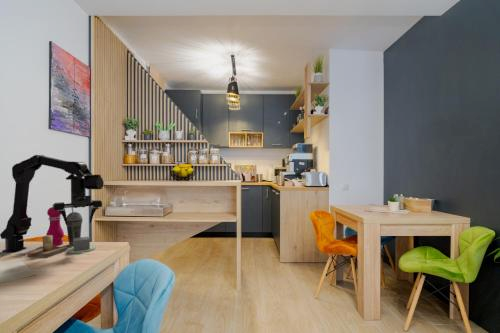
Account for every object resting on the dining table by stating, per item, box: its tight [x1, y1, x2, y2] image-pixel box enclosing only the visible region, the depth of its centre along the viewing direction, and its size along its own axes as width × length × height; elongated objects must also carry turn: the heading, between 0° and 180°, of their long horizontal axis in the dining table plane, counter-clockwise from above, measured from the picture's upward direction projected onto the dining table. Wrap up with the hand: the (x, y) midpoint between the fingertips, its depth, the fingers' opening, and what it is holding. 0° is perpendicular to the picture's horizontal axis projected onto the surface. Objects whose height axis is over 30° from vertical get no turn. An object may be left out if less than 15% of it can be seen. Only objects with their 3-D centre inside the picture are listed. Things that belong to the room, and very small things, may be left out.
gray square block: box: [73, 236, 91, 251], centre depth 133 cm, size 6×6×4 cm
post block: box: [27, 235, 68, 258], centre depth 128 cm, size 10×10×8 cm
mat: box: [67, 244, 97, 254], centre depth 133 cm, size 11×11×1 cm
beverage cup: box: [65, 207, 83, 246], centre depth 143 cm, size 7×7×20 cm
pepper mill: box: [45, 203, 65, 247], centre depth 143 cm, size 7×7×20 cm
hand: (78, 224), depth 133 cm, fingers open, 9 cm apart
